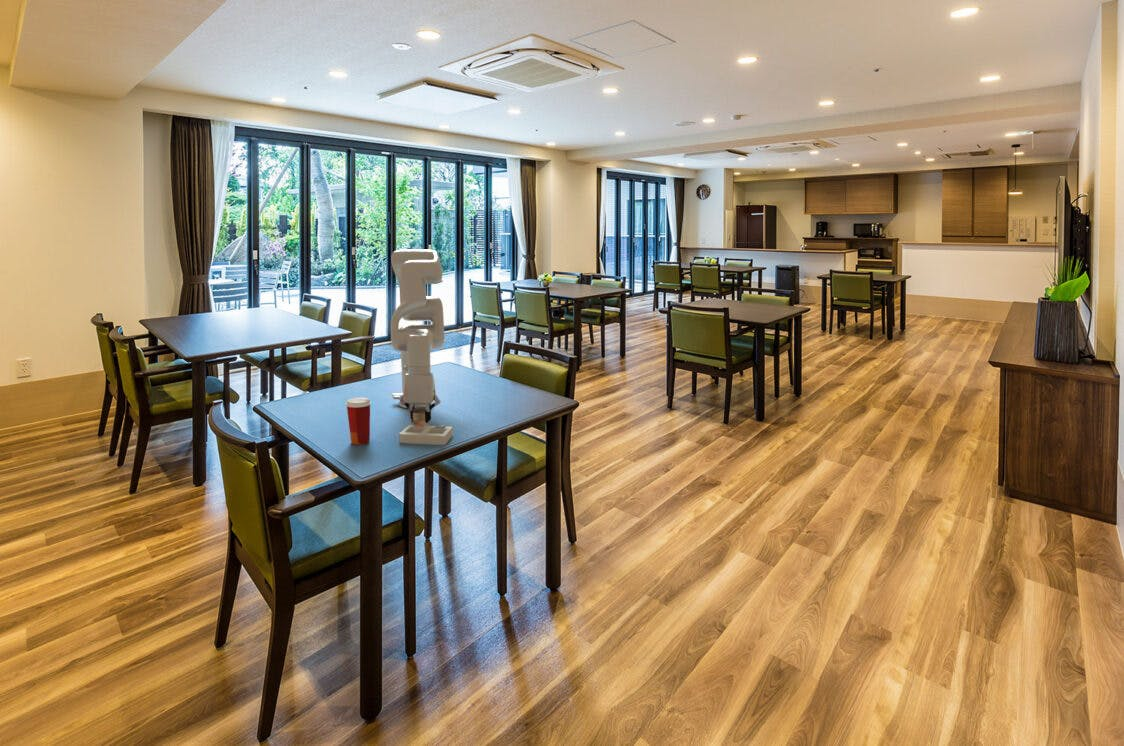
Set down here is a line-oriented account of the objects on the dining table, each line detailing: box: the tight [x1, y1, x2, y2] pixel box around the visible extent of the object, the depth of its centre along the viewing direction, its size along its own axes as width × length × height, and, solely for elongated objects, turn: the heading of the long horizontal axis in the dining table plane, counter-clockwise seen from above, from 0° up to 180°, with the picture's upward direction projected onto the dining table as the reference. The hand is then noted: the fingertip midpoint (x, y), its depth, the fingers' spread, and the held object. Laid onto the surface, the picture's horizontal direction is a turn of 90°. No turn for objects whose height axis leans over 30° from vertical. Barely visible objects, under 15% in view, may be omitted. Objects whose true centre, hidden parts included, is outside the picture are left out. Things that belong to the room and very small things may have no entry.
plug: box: [412, 407, 429, 426], centre depth 212 cm, size 4×4×7 cm
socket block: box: [398, 424, 454, 446], centre depth 202 cm, size 15×10×3 cm, turn 85°
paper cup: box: [344, 397, 372, 446], centre depth 197 cm, size 8×8×14 cm
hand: (420, 421), depth 212 cm, fingers closed on plug, 4 cm apart
